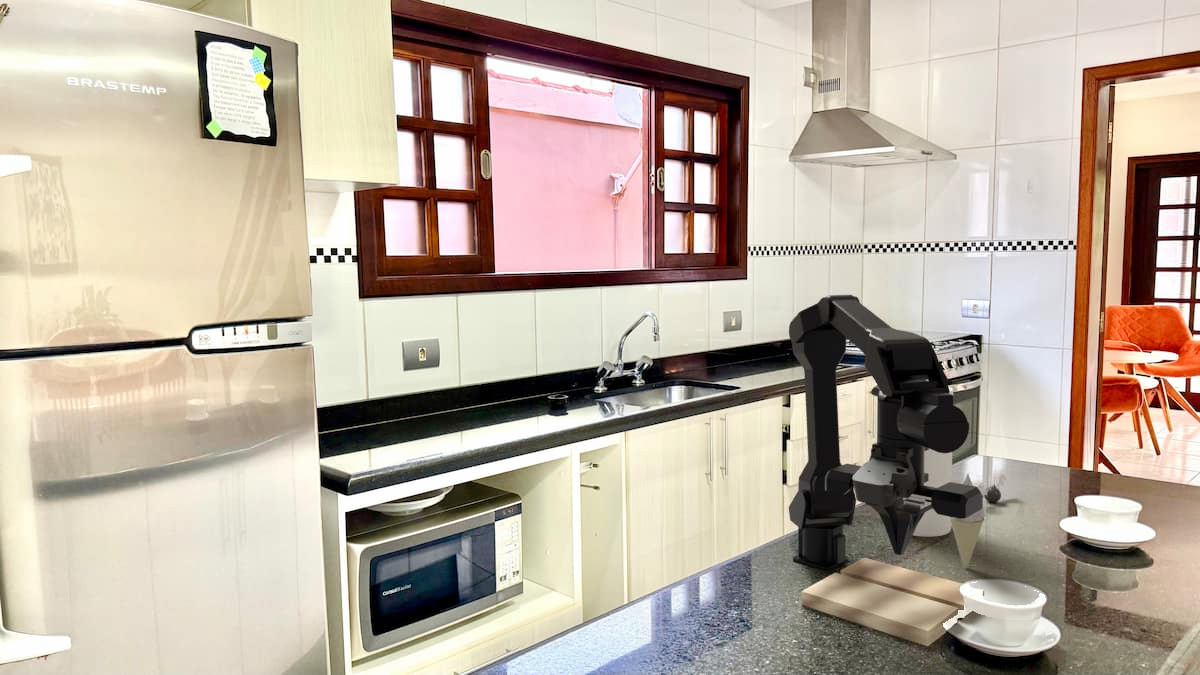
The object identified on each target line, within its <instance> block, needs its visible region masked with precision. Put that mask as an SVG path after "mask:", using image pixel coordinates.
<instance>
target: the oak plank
mask: <svg viewBox="0 0 1200 675" xmlns="http://www.w3.org/2000/svg"><path fill="white" fill-rule="evenodd" d="M801 605H802V606H804V607H806V608H810V609H813V610H817V611H819V612H822V613H825V614H828V615H831V616H834V617H836V618H840V619H844V620H846V621H850V622H852V623H855V624H858V625H862V626H865V627H868V628H871V629H874V630H876V631H879V632H882V633H886V634H889V635H892V636H895V637H898V638H901V639H904V640H907V641H910V642H913V643H916V644H919V645H923V646H926V647H929V646H930V645H931V644H933V643H934V642H936V641H937V640H938V639H940V638H941V637H942V636H943V635H944V634H945V633H947V632H946V630H945V628H944V627H943V623H945V622H946V621H948V620H949V619H951V618H953V617H954V616H956V615H957V614H958V610H959V608H957V607H954V606H950V605H947V604H943V603H940V602H936V601H933V600H929V599H926V598H922V597H919V596H915V595H912V594H908V593H905V592H901V591H898V590H894V589H891V588H887V587H884V586H880V585H877V584H873V583H870V582H866V581H863V580H859V579H856V578H852V577H849V576H845V575H842V574H841V573H839V572H834V573H832V574H830V575H828V576H827V577H824V578H823V579H821V580H819V581H818V582H816V583H814V584H812V585H811V586H809V587H807V588H804V589H803V590H801Z"/></svg>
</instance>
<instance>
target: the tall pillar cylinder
mask: <svg viewBox="0 0 1200 675" xmlns="http://www.w3.org/2000/svg"><path fill="white" fill-rule="evenodd" d="M948 387H949V390H950V392H949V394H952V395H953V396H954V388H952V387H950V386H948ZM924 473H929V474H928V481H927V482H925V483H924V486H929V487H935V488H938V487H940V486H942V485H945V484H947V483H949V482H953V452H950V453H939V452H936V451H934V450H931V449H929V450H927V451H924ZM951 530H952V524H951V520H950V518H949V516H944V515H939V514H937V513H936V512H935V511H934V509H933V508H932V509H930V510H928V511H927V512H925V513H924V515H923V517H922V518H921V520H920V521H919V523H918V525H917V527H916V529H915V531H914V533H913V535H912V537H913V536H915V537H922V538H923V537H939V536H940V537H941V536H945V535H947V534H949V533H951Z"/></svg>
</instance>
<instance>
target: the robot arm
mask: <svg viewBox="0 0 1200 675" xmlns="http://www.w3.org/2000/svg"><path fill="white" fill-rule="evenodd" d="M788 335H789V340H790V341H791V346H792V347H791V348H792V353H793V355H794V357H795V358H796V360H797V361H798V362H799V363H800V364H799V365H801V367H802V368H803V371H804V373H803V374H804V394H805V396H804V397H805V414H806V417H805V418H806V436H807V437H806V438H807V439H806V440H807V457H808V458H807V459H808V460H807V462H806V465H805V466H804V468H803V470H802V471H801V473H800V475H799V477H798V486H797V488H798V490H797V492H796V493H795V495H794V497H793V499H792V500H791V502H790V504H789V506H788V514H789V521H791V523H793V524H794V525H795V526H797V527H798V530H797V531H798V532H797V533H798V534H797V536H798V537H797V539H798V540H797V550H798V552H797V554H796V555H794V556H793V557H792V561H794V562H797V563H799V564H800V563H801V564H804V565H807V566H812V567H814V568H818V569H822V570H825V571H829V570H831V569H833V568H836V567H837V566H839V565H841V564H843V563H845V562H846V561H848V560H849V556H848V555H846V535H845V534H844V526H852V524H853V520H854V514H855V509H856V503H857V502H859V503H864V504H865V505H866V506H869V507H872V509H874V511H876V512H877V513H878V515H879V517H880V519H881V520H882V522H883V526H884V528H885V530H886V534H887V537H888V538H889V542H890V545H891V548H892V550H893V553H894V554H895V555H897V556H898V555H899V556H902V555H904V554H905V552H906V551H907V548H908V546H909V544H910V542H911V540H912V538H913V536H912V535H913V533H914V531H915V529H916V527H917V525H918V523H919V521H920V520H921V518H922V517H923V515H924V513H925V512H927V511H928V510H930V509H932V508H933V509H934V511H935V512H936V513H937V514H939V515H944V516H949V517H954V518H958V519H962V518H967V517H969V516H971V515H972V514H974V513H976V512H978V511H979V510H981V509H983V505H984V503H983V502H984V501H983V500H984V497H983V496H982V494H981V492H980V490H979V489H978V487H977V486H975V485H973V486H970V485H965V484H963V483H958V482H953V481H952V482H949V483H947V484H945V485H942V486H940V487H938V488H935V487H929V486H924V483H925V482H927V481H928V474H929V473H924V451H927V450H929V449H931V450H934V451H936V452H939V453H950V452H952V453H954V452H955V451H957V450H959V449H960V448H961V447H962V446H963V445H964V443H966V440H967V439H968V435H969V430H970V423H969V422H968V421H969V420H968V418H967V416H966V414H965V412H964V411H963V410H962V409H960V408H959V406H956V405H954V394H953V395H952V394H949V392H950V390H949V387H950V386H949V385H948V381H949V379H948V377H947V374H946V373H945V371H944V369H943V367H942V366H941V363H940V360H939V358H938V356H937V353H936V350H935V348H934V347H933V345H932V343H931V342H930V341H929V339H927V338H926V337H925V336H921V335H920V334H917V333H915V332H911V331H905V330H901V329H896V328H893V327H892V326H890V325H889V324H888V323H887V322H885V321H884V320H882V319H881V317H878V316H877V315H876V314H875V313H874V312H872V311H871V310H870V309H869V308H867V307H866V306H865V305H863V304H862V303H861V301H860V299H859V297H857V296H854V295H852V294H832V295H831V294H830V295H826V296H824V297H822V298H820V300H819V301H818V302H817V303H814V304H813V305H811V306H809V307H807V308H805V309H803V310H801V311H799V312H798V313H797V314H796V315H795V316H794V317H793V319H791V321H790V323H789V326H788ZM847 340H849V341H850V342H851V343H852V344H853V345H854V346H855V347H857V349H858V350H860V351H861V352H862V353H863V354H864V356H865V361H864V367H865V369H866V370H867V371H868V373H869V374H870V376H872V378H873V380H874V382H875V384H876V385H875V386H874V387H873V388H872V389H871V391H870V393H871V395H872V396H875V397H877V405H876V406H877V407H876V410H877V414H876V418H877V419H876V421H877V422H876V424H877V426H876V442H875V443H872V445H871V448H870V456H869V459H868V461H866V462H864V463H863V464H862V465H858V464H857V465H856V464H851V463H844V464H842V462H841V453H840V448H841V447H840V433H839V432H840V431H839V407H838V406H839V404H838V385H837V368H838V366H839V364H840V362H841V361H842V359H843V357H844V355H845V354H846V351H847ZM927 380H928V381H927Z"/></svg>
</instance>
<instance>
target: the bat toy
mask: <svg viewBox="0 0 1200 675" xmlns="http://www.w3.org/2000/svg"><path fill="white" fill-rule="evenodd" d="M1008 480H1009V479H1008V477H1007V476H1006V475H1004V474H999V475H998V480H997V482H996V483H994V484H993V485H991V486H989V487H987V488H984V485H983V482H982V481H981V482H980V483H979V484H977V486H976V487H978V489H979V490H980V492H981V494H982V496H983V498H984V499H985V500H986V501H987V502H989V503H992V504H993V503H997V502H999V501H1000V500H1001V498H1002V493H1001V491H1000V490H999V489H1000V487H1001V486H1003V487H1005V481H1008Z"/></svg>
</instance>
